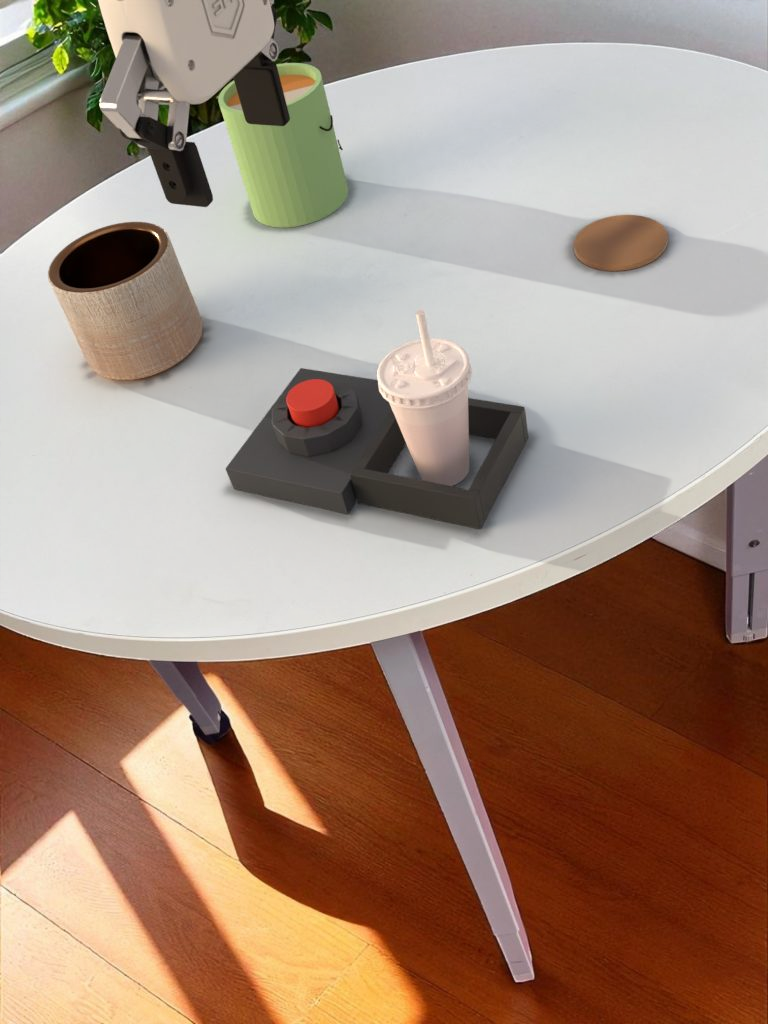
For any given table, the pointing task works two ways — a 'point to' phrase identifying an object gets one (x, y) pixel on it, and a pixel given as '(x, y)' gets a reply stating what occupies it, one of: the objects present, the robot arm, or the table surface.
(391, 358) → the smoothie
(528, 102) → the table surface
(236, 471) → the button base
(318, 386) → the stop button
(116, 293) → the planter
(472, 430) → the frame
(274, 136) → the mug
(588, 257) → the coaster
